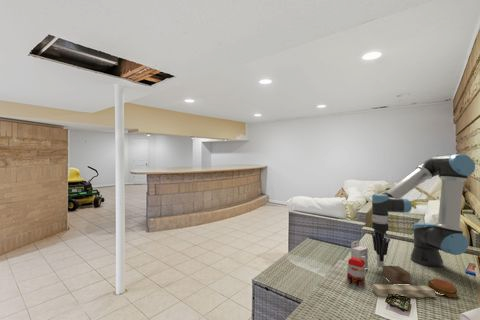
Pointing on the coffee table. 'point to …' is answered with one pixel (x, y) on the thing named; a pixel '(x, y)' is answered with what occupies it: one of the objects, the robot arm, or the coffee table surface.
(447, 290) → the burger
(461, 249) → the robot arm
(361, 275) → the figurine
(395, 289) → the maple board
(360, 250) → the ink box
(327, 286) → the coffee table surface
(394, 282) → the walnut block
